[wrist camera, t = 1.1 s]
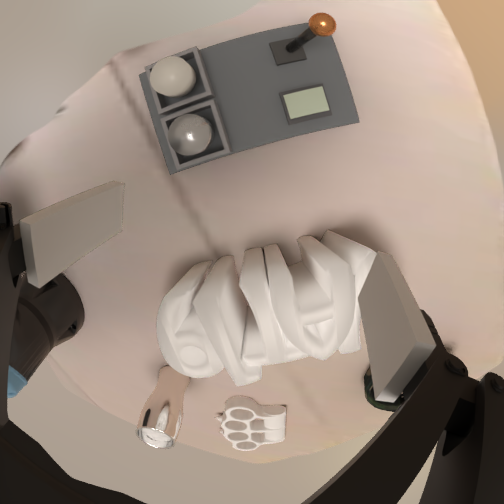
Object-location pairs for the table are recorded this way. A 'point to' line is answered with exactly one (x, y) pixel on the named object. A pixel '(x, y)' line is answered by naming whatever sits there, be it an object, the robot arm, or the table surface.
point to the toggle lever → (313, 31)
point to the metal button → (190, 134)
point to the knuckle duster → (252, 423)
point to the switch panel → (252, 93)
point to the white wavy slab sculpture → (265, 309)
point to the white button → (172, 77)
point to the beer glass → (163, 410)
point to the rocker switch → (306, 102)
